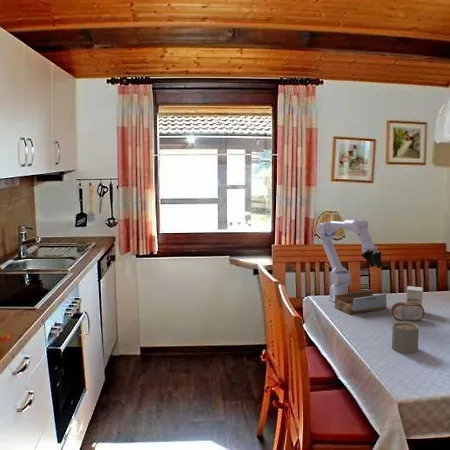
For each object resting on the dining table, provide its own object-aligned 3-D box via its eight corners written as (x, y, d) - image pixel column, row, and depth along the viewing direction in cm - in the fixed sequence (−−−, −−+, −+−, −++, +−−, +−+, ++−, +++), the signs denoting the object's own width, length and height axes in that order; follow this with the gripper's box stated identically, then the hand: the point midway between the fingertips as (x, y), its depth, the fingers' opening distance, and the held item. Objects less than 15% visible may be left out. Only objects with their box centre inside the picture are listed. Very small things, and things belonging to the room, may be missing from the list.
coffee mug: (420, 354, 198) (422, 329, 196) (395, 353, 199) (396, 329, 197) (411, 341, 211) (412, 318, 210) (387, 340, 212) (388, 318, 211)
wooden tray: (334, 308, 257) (335, 294, 256) (370, 302, 267) (371, 289, 266) (349, 314, 247) (349, 300, 246) (386, 308, 257) (386, 295, 256)
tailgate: (352, 310, 247) (353, 298, 246) (384, 305, 255) (384, 293, 254) (355, 311, 246) (355, 299, 245) (386, 305, 254) (386, 294, 253)
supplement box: (405, 314, 247) (406, 289, 246) (406, 309, 254) (407, 285, 252) (421, 315, 245) (422, 290, 243) (421, 311, 252) (422, 286, 250)
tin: (422, 319, 239) (423, 302, 238) (424, 321, 236) (425, 304, 235) (390, 318, 241) (391, 301, 240) (392, 320, 238) (392, 303, 237)
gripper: (366, 236, 240) (377, 262, 235) (379, 239, 251) (390, 264, 246) (354, 242, 244) (364, 268, 239) (367, 245, 255) (377, 270, 250)
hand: (376, 266), depth 243 cm, fingers open, 7 cm apart
